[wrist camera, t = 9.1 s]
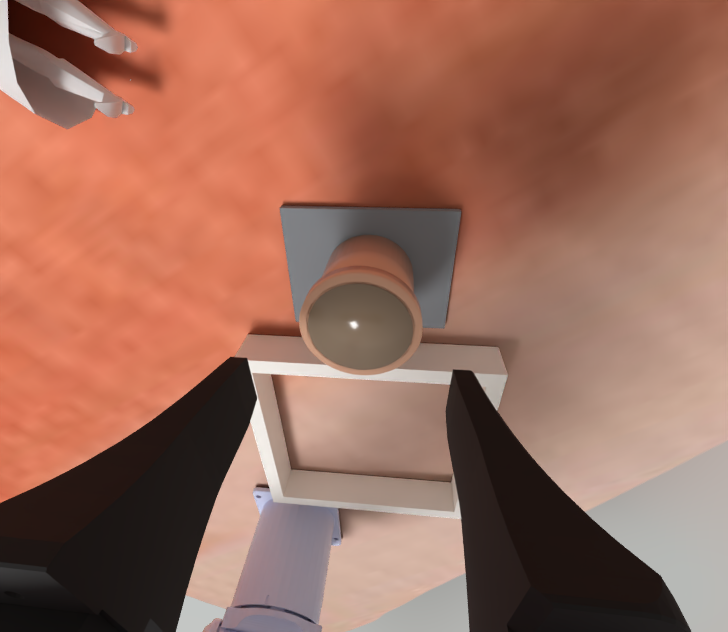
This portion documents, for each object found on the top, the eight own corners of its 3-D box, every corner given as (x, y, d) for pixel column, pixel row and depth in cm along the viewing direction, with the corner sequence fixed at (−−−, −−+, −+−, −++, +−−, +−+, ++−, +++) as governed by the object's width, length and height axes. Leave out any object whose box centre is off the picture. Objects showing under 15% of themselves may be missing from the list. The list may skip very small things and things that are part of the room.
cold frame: (461, 489, 31) (465, 519, 29) (281, 474, 32) (273, 502, 30) (498, 347, 22) (508, 375, 20) (247, 334, 23) (232, 359, 21)
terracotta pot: (415, 318, 21) (417, 379, 17) (324, 314, 21) (305, 372, 17) (422, 230, 18) (428, 277, 14) (317, 227, 18) (291, 272, 14)
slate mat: (443, 324, 22) (444, 328, 21) (297, 317, 22) (295, 321, 22) (460, 208, 18) (461, 211, 17) (282, 205, 18) (279, 207, 18)
